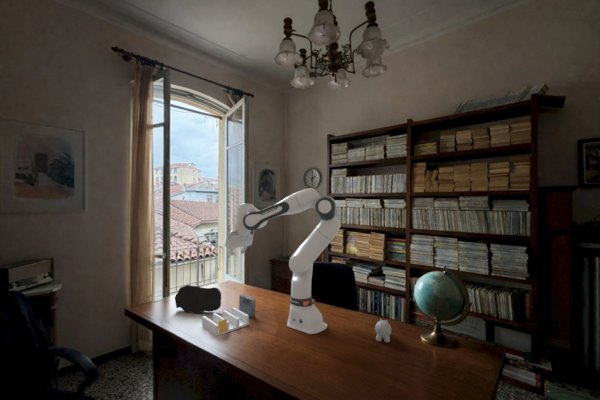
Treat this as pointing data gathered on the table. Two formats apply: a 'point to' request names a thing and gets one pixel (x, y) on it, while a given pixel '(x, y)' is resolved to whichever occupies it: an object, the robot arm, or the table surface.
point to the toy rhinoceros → (383, 330)
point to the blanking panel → (247, 305)
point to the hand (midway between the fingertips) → (237, 254)
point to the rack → (225, 322)
